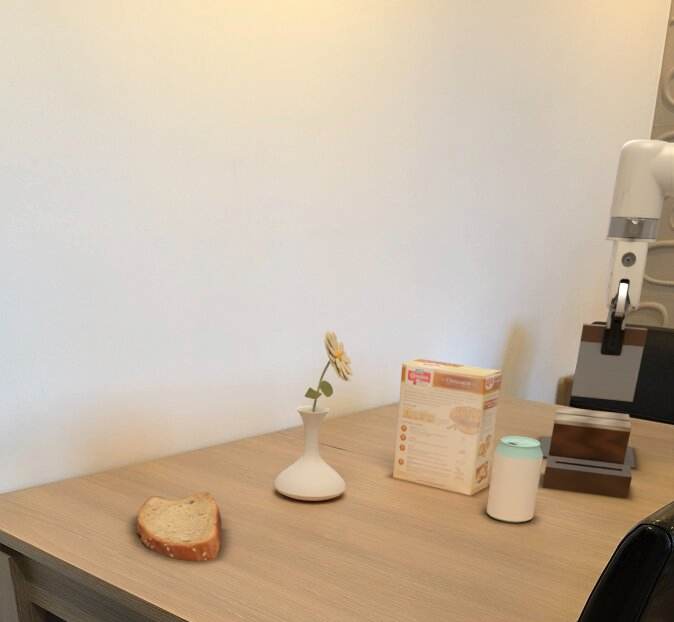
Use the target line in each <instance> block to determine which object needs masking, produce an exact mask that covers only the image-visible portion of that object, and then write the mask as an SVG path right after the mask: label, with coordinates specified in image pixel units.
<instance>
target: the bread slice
mask: <svg viewBox="0 0 674 622" xmlns="http://www.w3.org/2000/svg"><path fill="white" fill-rule="evenodd" d="M136 533H137V534H138V535H139V536H140V540H141V543H143V544H144V546H145V547H147V548H148V549H150V550H151V551H153V552H154V553H157V554H159V555H162V556H165V557H167V558H170V559H175V560H178V561H179V560H180V561H187V562H198V563H200V562H207V561H211V560H214V559H216V558H217V557H218V555H219V551H220V548H221V546H222V517H221V512H220V508H219V506H218V504H217V502H216V500H215V498H214V496H212V494H211V493H210V492H207V491H206V492H202V493H197V494H192V495H188V496H186V497H182V498H169V497H163V496H159V495H152V496H150V497H148V498H147V499H146V500H145V501H144V503H143V504H142V505H141V507H140V508H139V511H138V514H137V516H136Z"/></svg>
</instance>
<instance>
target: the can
mask: <svg viewBox="0 0 674 622" xmlns="http://www.w3.org/2000/svg"><path fill="white" fill-rule="evenodd" d="M540 444H541V441H539V440H537V439H534V438H531V437H526V436H519V435H510V436H508V435H507V436H504V437H502V438H501V439H500V443H499V444H498V445H497V446H496V447H495V449H494V455H493V462H492V471H491V477H490V483H489V490H488V491H489V492H488V497H487V498H488V499H487V504H486V513H487V514H488V515H489V516H490V517H491V518H493V519H495V520H496V521H501V522H505V523H515V524H516V523H517V524H518V523H524V522H527V521H530V520H532V519H533V517H534V513H535V509H536V508H535V507H536V502H537V495H538V489H539V483H540V477H541V472H542V471H541V470H542V465H543V460H544V458H543V453H542V451H541V448H540Z"/></svg>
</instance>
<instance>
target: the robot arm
mask: <svg viewBox="0 0 674 622" xmlns="http://www.w3.org/2000/svg"><path fill="white" fill-rule="evenodd" d="M618 157H619V158H618V164H617V170H616V175H615V182H614V188H613V193H612V199H611V206H610V211H609V217H608V224H607V230H606V235H605V241H612V246H611V253H610V260H609V265H608V272H607V279H606V288H605V307H606V308H608V311H607V316H606V323H605V325H607V328H606V329H605V330H604V335H603V341H602V347H601V354H602V355H612V356H620V355H621V352H622V346H623V341H624V336H625V330H624V329H625V327H626V322H627V317H628V313H629V308H630V307H631V309H632V311H634V312H635V311H637V310H638V309H639V306H640V301H641V300H640V299H641V294H642V288H643V282H644V278H645V271H646V266H647V259H648V250H649V243H650V244H651V243H652V244H655V243H657V238H658V232H659V229H660V223H661V217H662V212H663V206H664V203H665V202H664V201H665V197H666V196H668V197H671V198H674V142H669V141H666V140H661V139H632V140H629V141H627V142H625V143H624V144H623V145H622V147H621V149H620V153H619V156H618ZM629 306H630V307H629Z"/></svg>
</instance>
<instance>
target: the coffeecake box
mask: <svg viewBox="0 0 674 622" xmlns="http://www.w3.org/2000/svg"><path fill="white" fill-rule="evenodd" d="M502 377H503V370H499V369H492V368H484V367H477V366H472V365H465V364H464V365H463V364H457V363H450V362H445V361H444V362H443V361H437V360H431V359H425V358H419V359H415V360H411V361H406V362H403V363H402V366H401V375H400V388H399V397H398V398H399V399H398V400H399V401H398V411H397V412H398V413H397V424H396V433H395V435H396V436H395V445H394V446H395V448H394V458H393V459H394V460H393V470H392V473H393V474H392V478H395V479H398V480H402V481H407V482H411V483H415V484H419V485H424V486H428V487H432V488H435V489H441V490H444V491H449V492H453V493H456V494H457V493H458V494H462V495H466V496H473V495H474V494H477V493H478V492H480V491H481V490H483V489H485V488H487V487H488V482H489V477H490V476H489V474H490V470H491V469H490V468H491V462H492V453H493V446H494V445H493V444H494V439H495V432H496V431H495V430H496V423H497V416H498V408H499V401H500V394H501V386H502Z"/></svg>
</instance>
